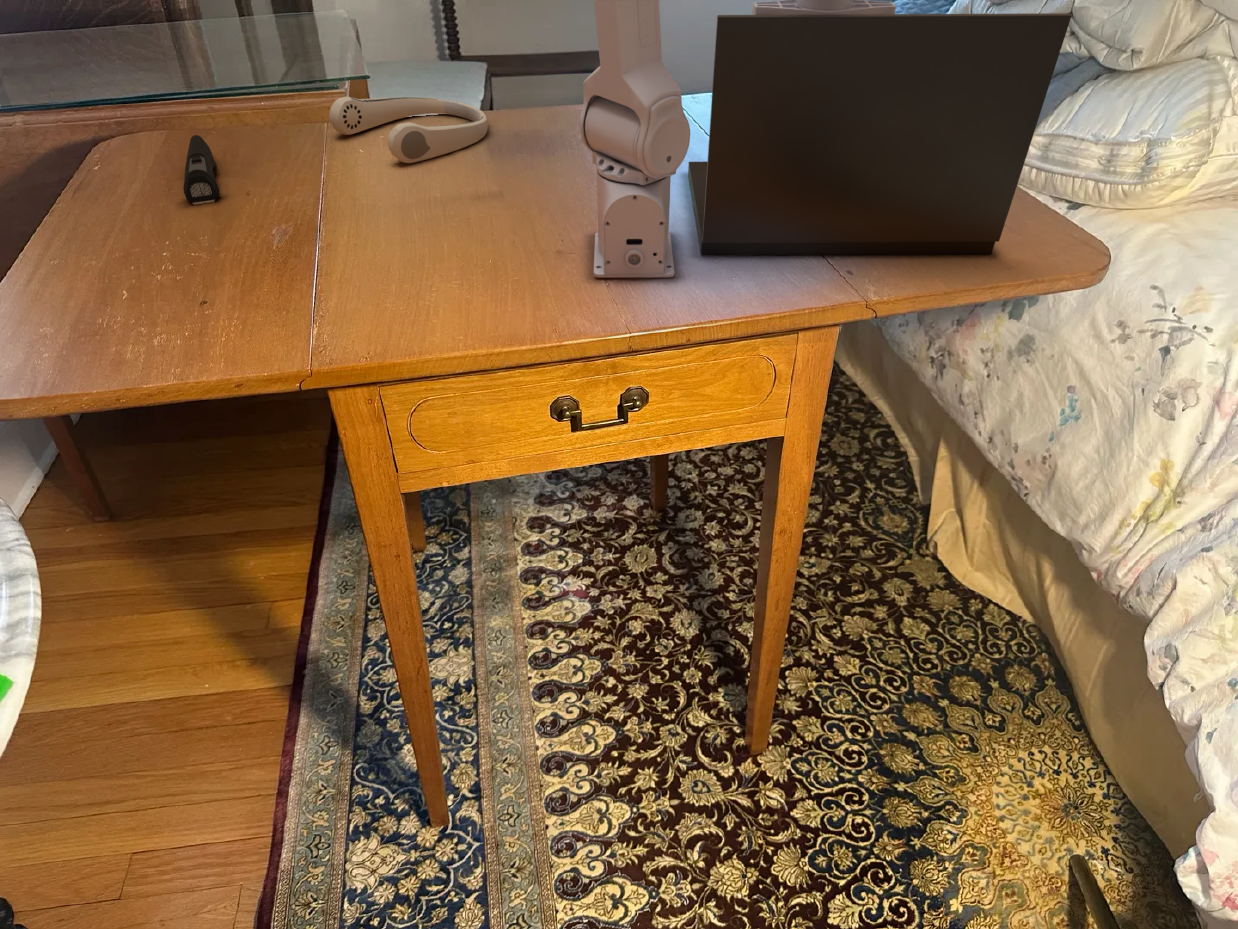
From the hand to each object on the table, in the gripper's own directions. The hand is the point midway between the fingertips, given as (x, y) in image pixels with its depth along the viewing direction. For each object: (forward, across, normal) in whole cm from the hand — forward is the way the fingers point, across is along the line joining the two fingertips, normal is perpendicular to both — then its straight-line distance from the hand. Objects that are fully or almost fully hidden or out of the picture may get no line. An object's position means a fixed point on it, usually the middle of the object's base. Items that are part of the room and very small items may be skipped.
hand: (811, 95), depth 95 cm
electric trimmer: (+11, +72, -3) cm, 73 cm away
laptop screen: (-2, -2, +18) cm, 18 cm away
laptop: (+10, -2, +7) cm, 13 cm away
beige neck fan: (+11, +48, -18) cm, 52 cm away
